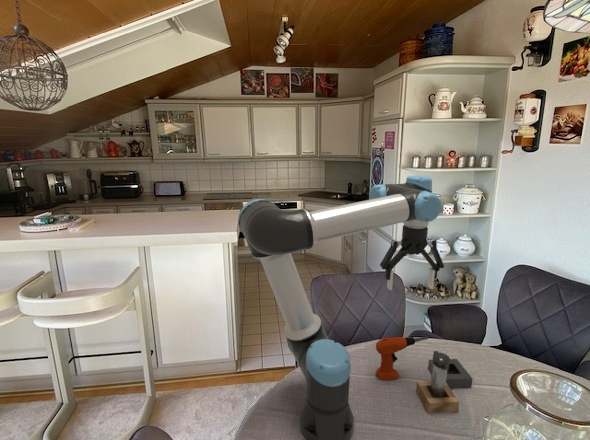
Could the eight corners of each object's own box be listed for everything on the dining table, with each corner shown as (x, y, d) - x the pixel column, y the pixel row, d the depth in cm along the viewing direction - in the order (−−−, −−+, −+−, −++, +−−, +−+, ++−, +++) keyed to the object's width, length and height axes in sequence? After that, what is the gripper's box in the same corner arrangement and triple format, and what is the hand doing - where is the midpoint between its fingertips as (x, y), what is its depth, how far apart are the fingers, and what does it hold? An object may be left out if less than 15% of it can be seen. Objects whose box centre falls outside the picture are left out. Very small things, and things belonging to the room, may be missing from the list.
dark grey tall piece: (448, 408, 101) (455, 364, 97) (433, 408, 101) (439, 365, 97) (437, 390, 108) (443, 349, 104) (423, 391, 107) (428, 350, 104)
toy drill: (432, 372, 115) (431, 334, 111) (379, 383, 113) (376, 344, 109) (425, 363, 119) (424, 326, 116) (373, 373, 118) (371, 336, 114)
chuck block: (441, 388, 109) (442, 379, 109) (427, 368, 119) (428, 359, 118) (471, 387, 110) (472, 378, 109) (455, 367, 120) (456, 358, 119)
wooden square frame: (428, 413, 100) (429, 403, 99) (416, 391, 108) (417, 381, 108) (458, 411, 100) (459, 401, 99) (443, 390, 109) (444, 380, 108)
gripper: (448, 222, 111) (441, 282, 116) (372, 223, 109) (369, 284, 114) (460, 228, 103) (452, 292, 108) (379, 229, 102) (375, 294, 107)
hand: (409, 288), depth 111 cm, fingers open, 13 cm apart
